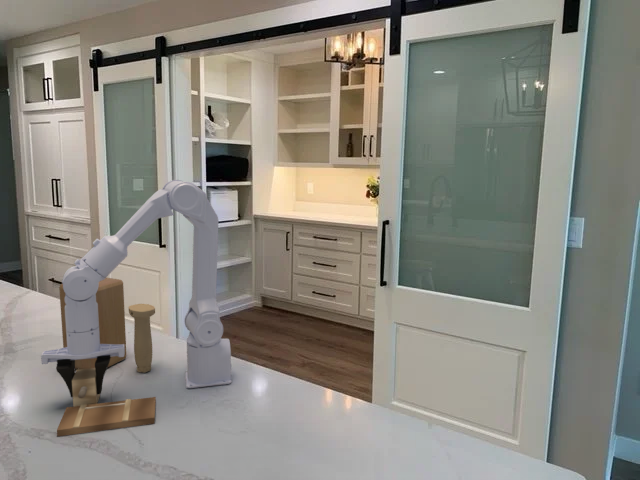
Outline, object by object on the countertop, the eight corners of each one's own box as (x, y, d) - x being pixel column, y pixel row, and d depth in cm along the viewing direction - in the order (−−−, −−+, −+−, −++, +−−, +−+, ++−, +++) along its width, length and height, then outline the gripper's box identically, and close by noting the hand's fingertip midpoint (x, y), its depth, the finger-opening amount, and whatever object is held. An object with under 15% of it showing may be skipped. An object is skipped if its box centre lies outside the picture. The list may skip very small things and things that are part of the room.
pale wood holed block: (100, 395, 97) (98, 367, 96) (94, 413, 90) (92, 384, 89) (78, 397, 96) (76, 369, 95) (71, 416, 88) (69, 386, 87)
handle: (142, 378, 105) (140, 313, 102) (126, 369, 108) (123, 307, 106) (161, 370, 108) (159, 308, 106) (145, 363, 112) (143, 302, 110)
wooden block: (62, 367, 109) (56, 283, 106) (97, 351, 118) (93, 274, 115) (95, 375, 105) (90, 288, 102) (128, 358, 115) (124, 278, 111)
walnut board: (155, 402, 94) (155, 395, 94) (154, 423, 87) (154, 416, 87) (66, 413, 90) (66, 406, 89) (57, 436, 82) (56, 429, 82)
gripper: (125, 318, 97) (127, 380, 99) (45, 323, 93) (50, 388, 95) (121, 330, 91) (124, 395, 93) (36, 336, 86) (41, 405, 88)
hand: (86, 393), depth 93 cm, fingers closed on pale wood holed block, 4 cm apart
